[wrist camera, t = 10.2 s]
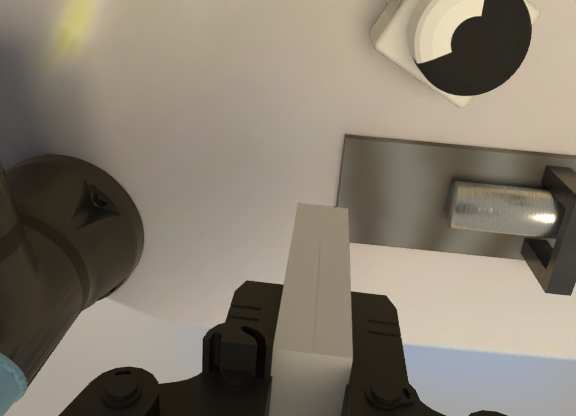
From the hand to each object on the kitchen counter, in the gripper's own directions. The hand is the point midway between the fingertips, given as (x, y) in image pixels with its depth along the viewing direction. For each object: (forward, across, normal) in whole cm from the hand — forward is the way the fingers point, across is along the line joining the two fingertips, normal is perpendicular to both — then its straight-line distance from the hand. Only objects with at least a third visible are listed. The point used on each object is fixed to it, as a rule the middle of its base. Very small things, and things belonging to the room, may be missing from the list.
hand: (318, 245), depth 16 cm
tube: (+29, +21, -10) cm, 38 cm away
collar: (+30, +20, -10) cm, 37 cm away
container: (+31, +8, +4) cm, 32 cm away
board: (+31, +17, -10) cm, 37 cm away
